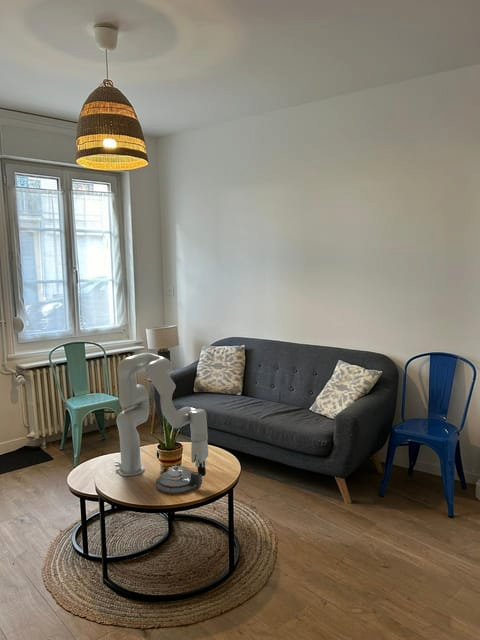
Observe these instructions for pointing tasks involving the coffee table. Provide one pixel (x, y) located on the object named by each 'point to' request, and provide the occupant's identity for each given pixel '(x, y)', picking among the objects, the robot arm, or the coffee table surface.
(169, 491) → the turntable base
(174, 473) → the cover
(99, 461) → the coffee table surface
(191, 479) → the round gray housing
